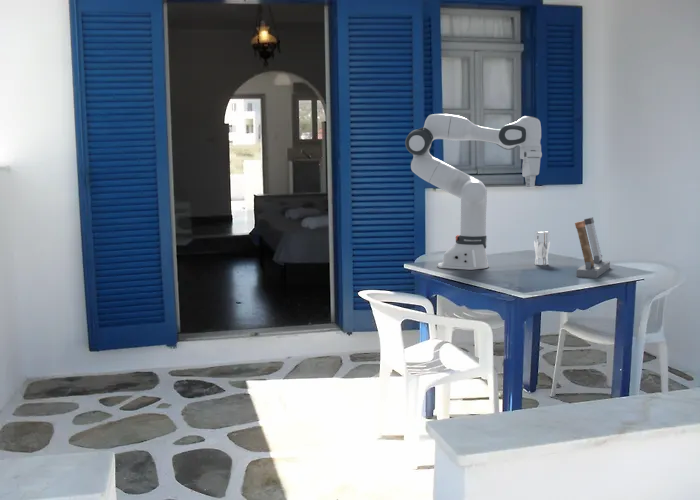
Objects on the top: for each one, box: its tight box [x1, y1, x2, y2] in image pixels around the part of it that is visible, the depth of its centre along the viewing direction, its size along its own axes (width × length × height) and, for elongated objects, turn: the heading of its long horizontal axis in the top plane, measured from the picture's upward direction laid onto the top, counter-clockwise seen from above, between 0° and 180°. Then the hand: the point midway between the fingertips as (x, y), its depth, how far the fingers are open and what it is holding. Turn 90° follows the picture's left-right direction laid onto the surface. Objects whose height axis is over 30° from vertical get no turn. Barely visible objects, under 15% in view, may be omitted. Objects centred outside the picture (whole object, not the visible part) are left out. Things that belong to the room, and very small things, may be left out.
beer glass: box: [533, 230, 551, 266], centre depth 339 cm, size 7×7×15 cm
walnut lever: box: [574, 220, 594, 267], centre depth 309 cm, size 3×5×19 cm, turn 151°
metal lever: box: [583, 217, 603, 262], centre depth 325 cm, size 3×5×19 cm, turn 151°
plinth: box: [576, 254, 611, 279], centre depth 317 cm, size 8×30×6 cm, turn 151°
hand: (530, 186), depth 322 cm, fingers open, 8 cm apart
